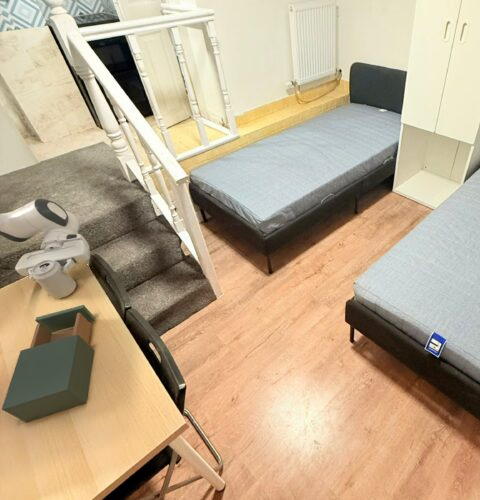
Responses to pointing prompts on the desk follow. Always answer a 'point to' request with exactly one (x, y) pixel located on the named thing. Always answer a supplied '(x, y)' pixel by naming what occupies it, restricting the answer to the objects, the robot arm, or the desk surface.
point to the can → (53, 278)
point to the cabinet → (50, 379)
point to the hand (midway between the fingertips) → (49, 275)
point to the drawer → (63, 325)
